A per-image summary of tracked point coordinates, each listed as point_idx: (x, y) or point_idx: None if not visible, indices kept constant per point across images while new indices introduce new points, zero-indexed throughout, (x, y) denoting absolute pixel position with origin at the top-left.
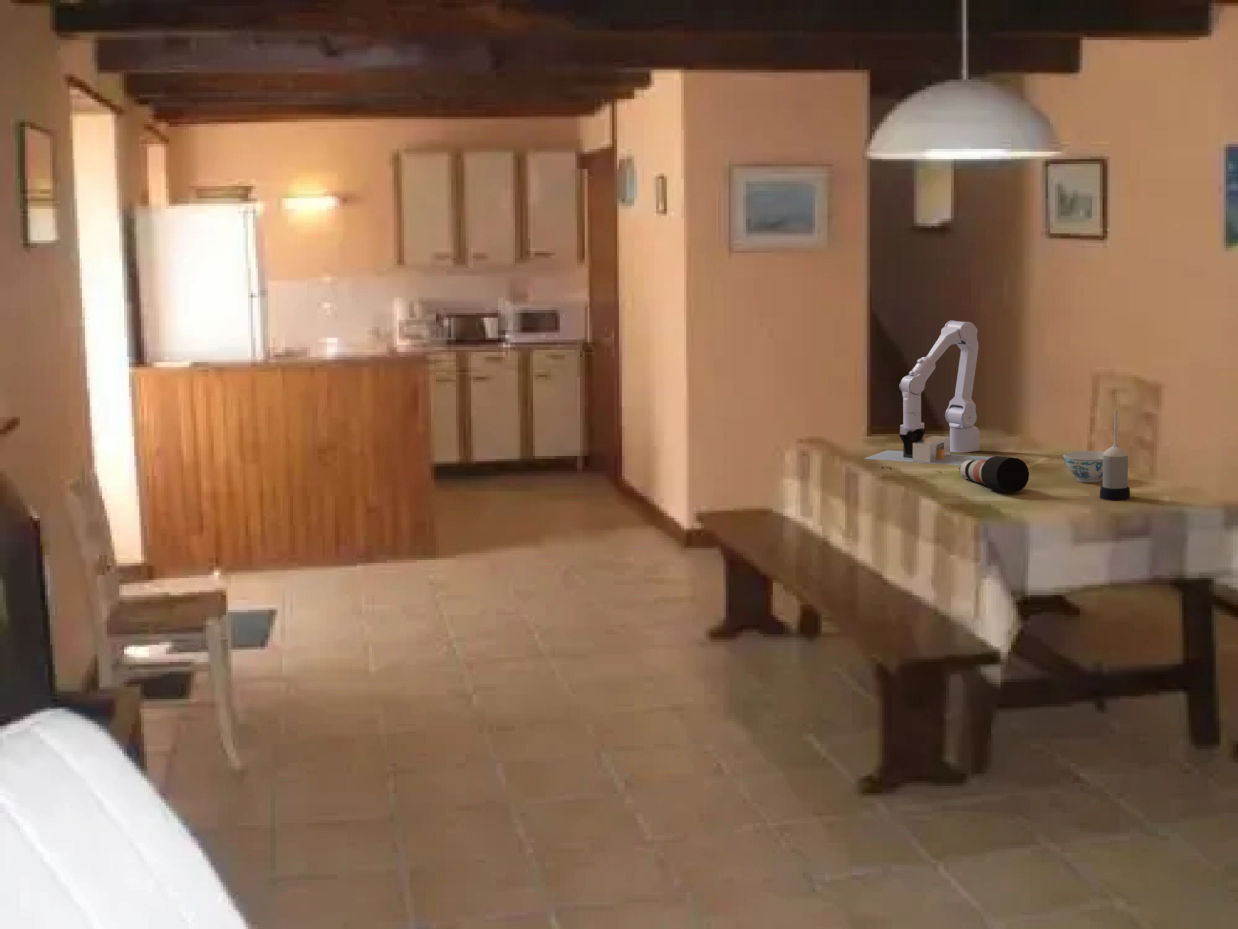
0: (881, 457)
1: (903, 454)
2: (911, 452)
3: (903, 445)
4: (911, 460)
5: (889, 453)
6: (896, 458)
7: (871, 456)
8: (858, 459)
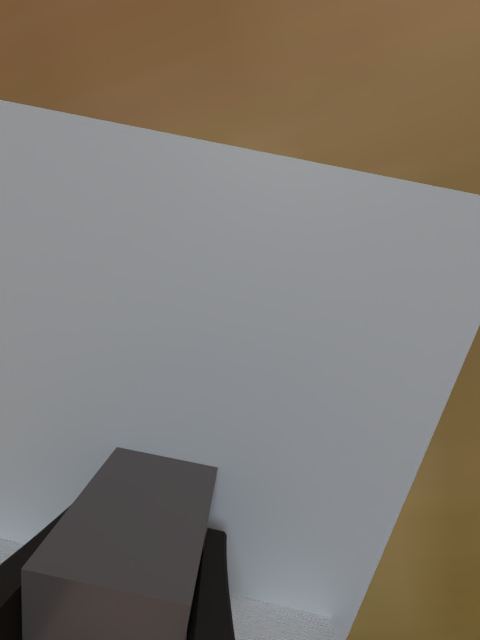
0: (51, 263)
1: (103, 466)
2: None
3: (21, 568)
4: (8, 519)
5: (296, 284)
6: (50, 404)
7: (75, 137)
8: (23, 8)
